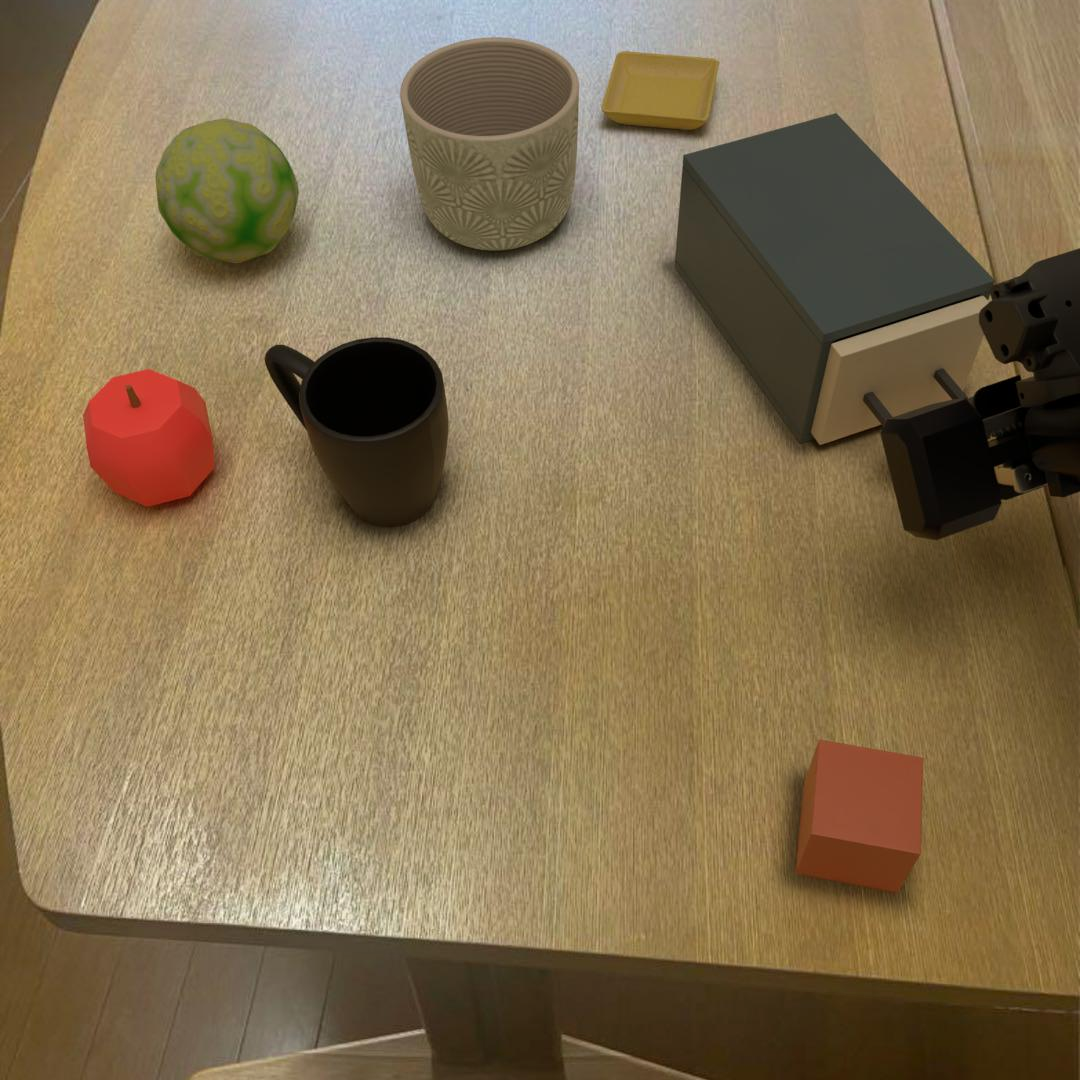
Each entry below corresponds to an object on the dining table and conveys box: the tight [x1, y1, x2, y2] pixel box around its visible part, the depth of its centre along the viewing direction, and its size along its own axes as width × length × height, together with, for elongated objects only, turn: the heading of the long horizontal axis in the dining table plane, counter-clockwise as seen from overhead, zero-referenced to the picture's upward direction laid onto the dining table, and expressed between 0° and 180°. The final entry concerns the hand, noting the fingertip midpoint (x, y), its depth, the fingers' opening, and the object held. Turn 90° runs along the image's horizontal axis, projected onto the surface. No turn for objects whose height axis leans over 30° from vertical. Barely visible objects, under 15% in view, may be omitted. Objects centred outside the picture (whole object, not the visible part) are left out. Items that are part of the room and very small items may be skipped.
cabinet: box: [674, 112, 996, 445], centre depth 79 cm, size 19×12×10 cm, turn 22°
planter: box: [399, 36, 580, 252], centre depth 86 cm, size 12×12×11 cm
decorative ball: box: [155, 117, 300, 264], centre depth 85 cm, size 10×10×10 cm
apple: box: [82, 368, 216, 508], centre depth 73 cm, size 8×8×8 cm
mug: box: [264, 336, 450, 528], centre depth 72 cm, size 8×12×10 cm
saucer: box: [600, 50, 721, 131], centre depth 98 cm, size 9×9×2 cm
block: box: [795, 739, 924, 894], centre depth 58 cm, size 5×5×5 cm
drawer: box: [811, 296, 990, 446], centre depth 77 cm, size 22×10×8 cm, turn 22°
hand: (966, 425), depth 68 cm, fingers closed
